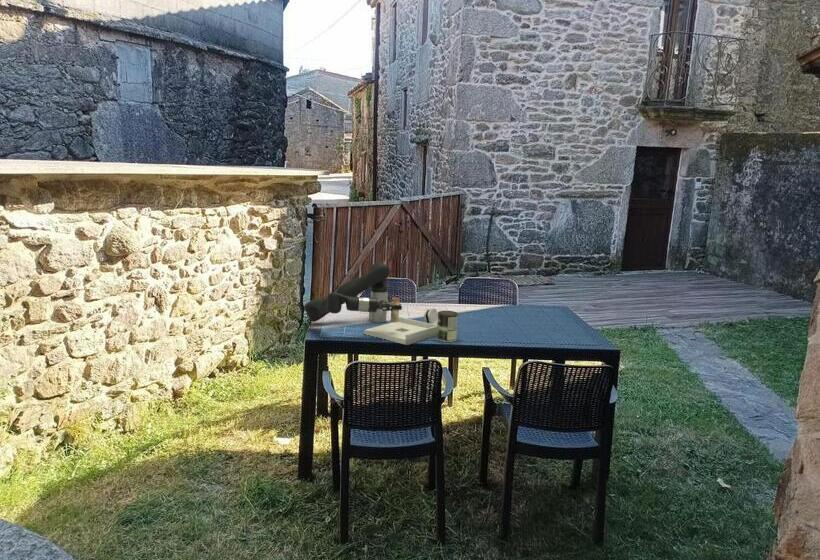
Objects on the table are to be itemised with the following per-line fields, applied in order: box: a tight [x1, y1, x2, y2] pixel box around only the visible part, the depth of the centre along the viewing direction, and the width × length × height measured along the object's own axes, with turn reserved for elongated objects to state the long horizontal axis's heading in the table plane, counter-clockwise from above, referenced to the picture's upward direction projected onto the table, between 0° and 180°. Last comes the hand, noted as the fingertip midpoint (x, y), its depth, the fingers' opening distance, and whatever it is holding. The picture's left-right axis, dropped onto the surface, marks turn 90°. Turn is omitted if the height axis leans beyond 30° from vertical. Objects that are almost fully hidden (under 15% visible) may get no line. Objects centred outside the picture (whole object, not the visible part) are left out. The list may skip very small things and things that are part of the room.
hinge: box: [423, 308, 439, 325], centre depth 355 cm, size 17×5×10 cm, turn 163°
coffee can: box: [436, 310, 459, 343], centre depth 324 cm, size 10×10×14 cm
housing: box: [363, 316, 438, 346], centre depth 331 cm, size 28×28×5 cm
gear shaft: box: [389, 297, 401, 323], centre depth 321 cm, size 4×4×12 cm
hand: (400, 306), depth 321 cm, fingers closed on gear shaft, 4 cm apart
